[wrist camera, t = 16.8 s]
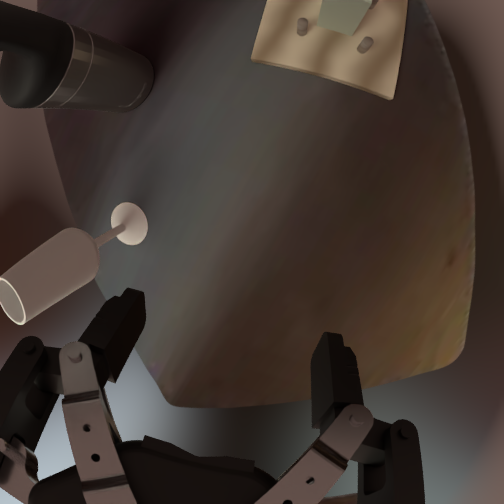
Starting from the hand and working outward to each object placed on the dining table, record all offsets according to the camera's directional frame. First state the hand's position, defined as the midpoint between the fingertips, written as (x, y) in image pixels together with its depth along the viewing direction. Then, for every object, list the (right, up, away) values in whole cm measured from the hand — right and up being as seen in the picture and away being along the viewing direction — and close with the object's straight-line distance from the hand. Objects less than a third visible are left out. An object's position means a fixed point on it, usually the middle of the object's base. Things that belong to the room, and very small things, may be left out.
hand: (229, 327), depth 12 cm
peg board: (+12, +33, +14) cm, 38 cm away
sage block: (+11, +32, +13) cm, 37 cm away
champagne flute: (-17, +7, +28) cm, 34 cm away
